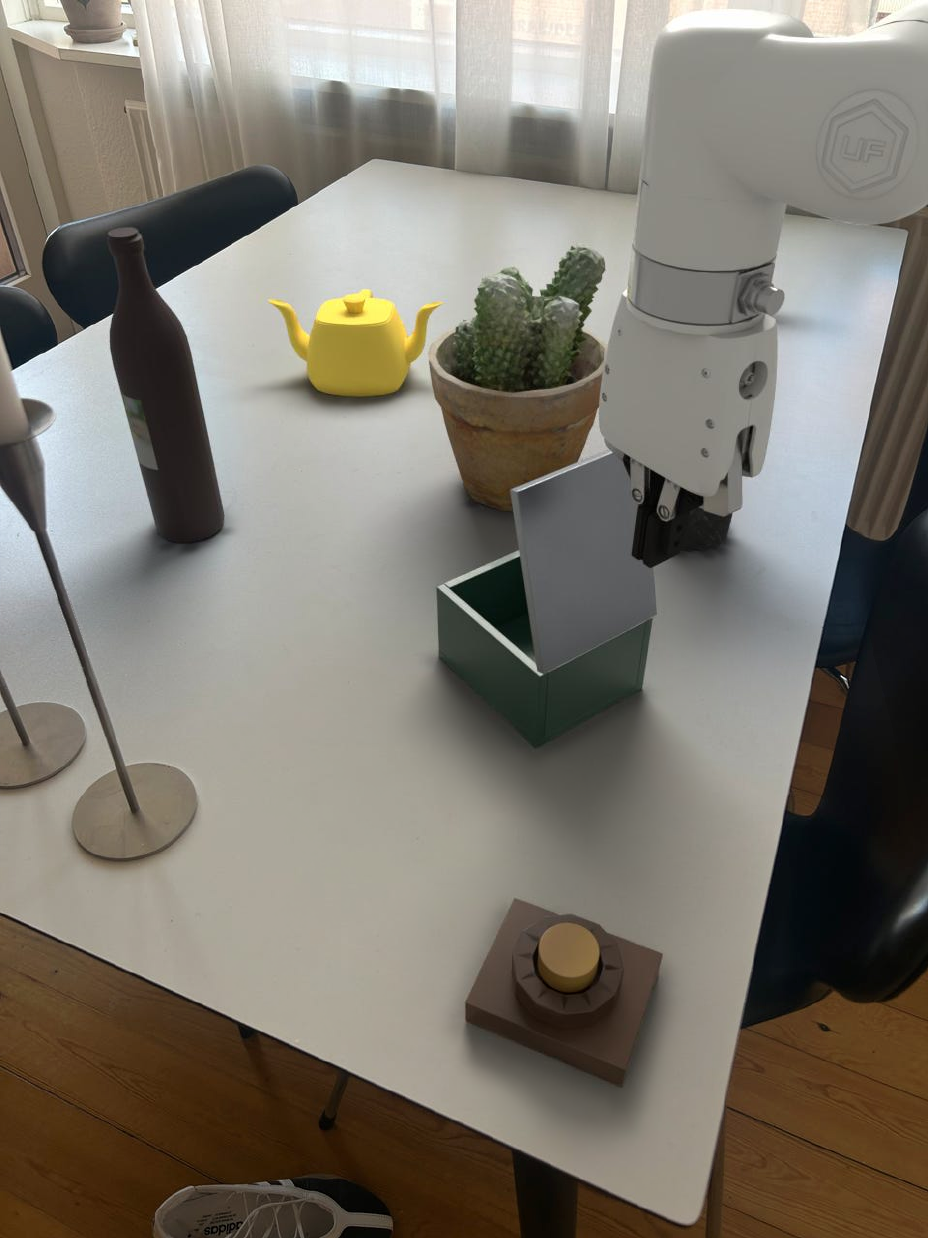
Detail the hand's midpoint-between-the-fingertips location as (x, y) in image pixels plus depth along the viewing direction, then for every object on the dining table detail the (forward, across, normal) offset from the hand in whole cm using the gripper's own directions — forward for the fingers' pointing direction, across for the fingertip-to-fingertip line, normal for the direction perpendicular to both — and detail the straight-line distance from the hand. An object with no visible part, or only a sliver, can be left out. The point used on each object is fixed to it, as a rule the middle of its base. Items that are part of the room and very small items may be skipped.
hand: (656, 554), depth 64 cm
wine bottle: (+20, +50, +15) cm, 56 cm away
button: (+16, -13, +17) cm, 27 cm away
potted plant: (+20, +36, -17) cm, 44 cm away
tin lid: (+4, +7, 0) cm, 8 cm away
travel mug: (+19, +18, -26) cm, 37 cm away
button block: (+19, -13, +17) cm, 29 cm away
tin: (+19, +11, 0) cm, 22 cm away
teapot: (+20, +70, -18) cm, 75 cm away
